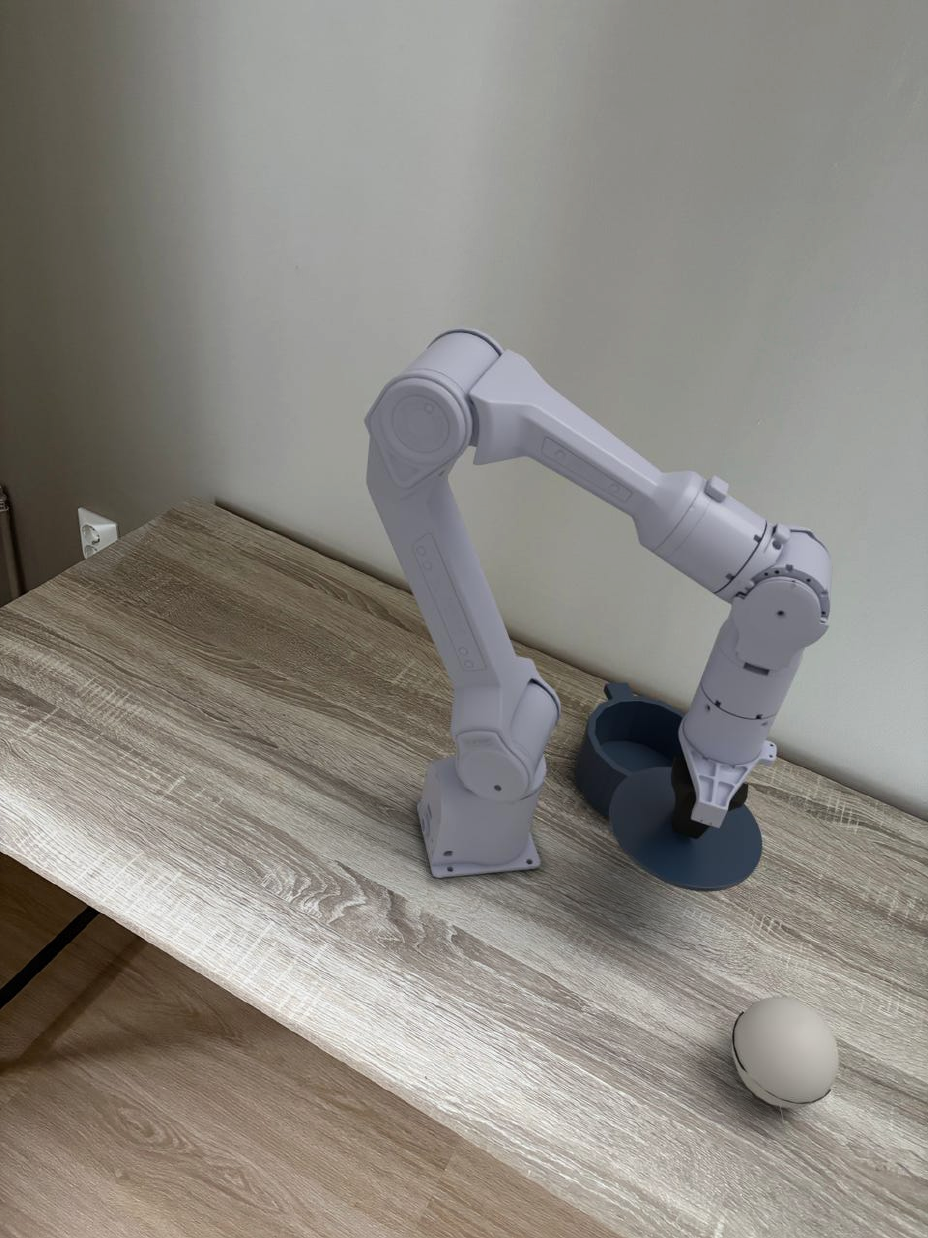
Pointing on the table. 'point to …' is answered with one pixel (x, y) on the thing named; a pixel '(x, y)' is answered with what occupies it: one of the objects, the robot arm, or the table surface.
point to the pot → (624, 742)
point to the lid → (681, 837)
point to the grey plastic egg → (785, 1052)
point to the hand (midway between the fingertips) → (687, 818)
